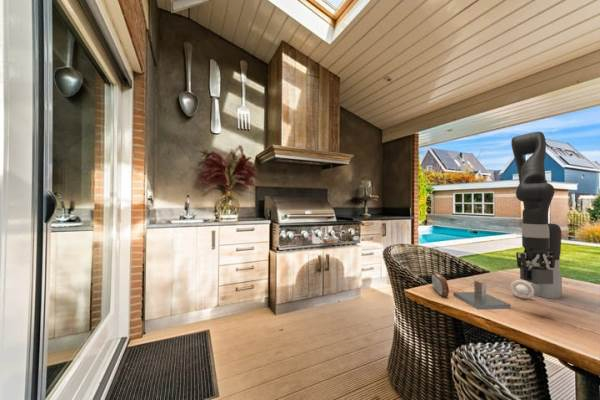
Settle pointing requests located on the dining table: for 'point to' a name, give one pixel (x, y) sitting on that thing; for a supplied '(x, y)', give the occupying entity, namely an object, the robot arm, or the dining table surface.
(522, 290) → the ring around a ball
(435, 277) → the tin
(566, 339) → the dining table surface
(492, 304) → the shaft base
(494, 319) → the dining table surface
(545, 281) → the dark grey open box
